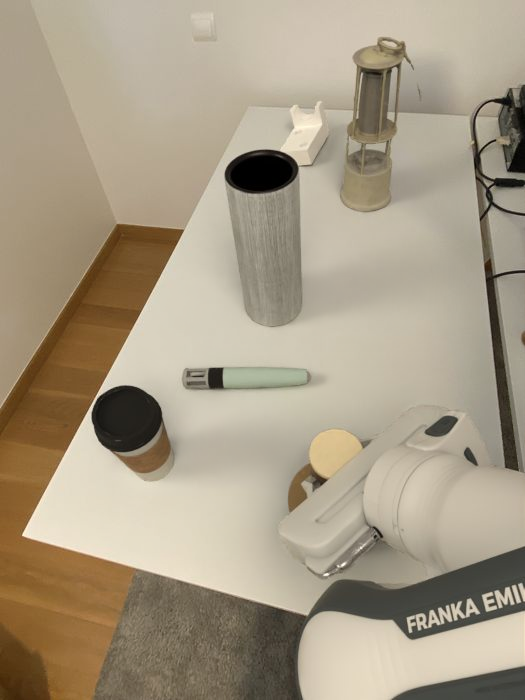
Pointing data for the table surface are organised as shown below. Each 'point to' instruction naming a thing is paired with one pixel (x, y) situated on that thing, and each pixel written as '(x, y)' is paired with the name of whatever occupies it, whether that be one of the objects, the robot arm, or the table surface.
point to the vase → (267, 233)
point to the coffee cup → (134, 431)
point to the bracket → (306, 134)
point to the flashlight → (245, 377)
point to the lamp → (372, 126)
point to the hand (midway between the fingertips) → (331, 464)
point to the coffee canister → (332, 453)
